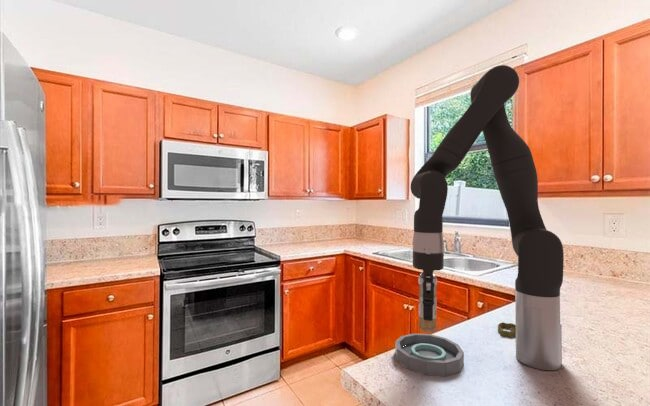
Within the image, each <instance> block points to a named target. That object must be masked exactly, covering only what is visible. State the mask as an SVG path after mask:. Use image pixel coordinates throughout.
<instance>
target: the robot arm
mask: <svg viewBox="0 0 650 406" xmlns="http://www.w3.org/2000/svg"><path fill="white" fill-rule="evenodd" d="M519 85H520V77H519V75H518V72H517V71H516V70H515V69H514V68H513V67H511V66H509V65H505V64H502V65H501V64H500V65H496V66H494V67H491V68H489V69H488V70H487V71H485V73H484V74H483V75H481V77H480V78H479V79H478V80H477V81H476V82H475V83H474V84H473V85H472V87H471V90H470V94H469V96H470V102H471V103H470V105H469V106H468V108H467V109H466V110H465V111H464V113H463V114H462V116H460V118H459V119H458V120H457V121H456V123H454V125H453V126H452V127H451V128H450V130H449V131H448V132H447V133H446V135H445V136H444V138H442V139H441V140H442V141H441V142H440V143H439V144H438V146H437V147H436V149H435V151H434V152H433V154H431V157H430V158H428V159H427V160H426V162H425V163H424V164H423V165H422V166H421V167H420V169H419V170H418V171H417V172H416V173H415V175H414V176H413V178H412V179H411V181H410V192H411V194H412V195H413V196H414V197H415V198H416V199H419V204H418V208H417V210H415V212H414V214H413V236H412V267H413V268H414V269H417V270H422V272H421V273H420V274H419V276H420V283H421V294H422V295H423V301H422V303H423V319H424V320H427V321H432V320H433V306H434V296H435V284H436V278H437V276H436V275H435V274H434V272H435V271H436V272H437V271H442V270H443V269H444V263H445V262H444V261H445V259H444V254H445V253H444V248H445V247H444V245H445V244H444V241H445V240H444V236H443V233H444V231H443V227H444V226H443V225H444V224H443V222H444V221H443V214H444V211H445V207H446V204H447V203H446V202H447V199H448V198H447V197H448V191H449V189H448V182H447V178H446V177H447V176H448V175H449V174H451V173H452V172H454V171H455V170H456V169H457V168H458V167H459V166H460V164H461V163H462V162H463V160H464V159H465V157H466V155H467V154H468V153H469V151H470V150H471V149H472V147H473V145H474V143H476V141H477V139H478V138H479V136H480V135H481V134H482V133H483V137H484V138H483V139H484V141H485V144H486V145H485V146H486V148H487V151H488V156H489V159H490V163H491V168H492V171H493V175H494V178H495V182H496V184H497V188H498V190H499V193H500V197H501V199H502V202H503V205H504V208H505V210H506V214H507V218H508V223H509V229H510V230H509V231H510V237H511V244H512V249H513V251H514V253H515V255H516V256H517V276H516V278H515V279H514V280H515V281H514V285H515V290H514V291H515V292H514V294H515V297H514V298H515V304H514V305H515V325H516V337H515V358H516V360H518V361H519V362H520V363H522V364H523V365H525V366H528V367H531V368H534V369H537V370H543V371H557V370H560V369H561V365H562V363H563V352H562V351H563V350H562V349H563V345H562V344H563V342H562V337H563V335H562V332H563V331H562V324H561V287H562V285H563V282H564V261H565V260H564V246H563V242H562V240H561V239H560V237H559V236H557V234H555V233H554V232H552V231H550V230H548V229H547V228H546V226H545V223H544V220H543V217H542V215H541V212H540V206H539V200H538V198H539V197H538V195H539V192H538V191H539V190H538V188H539V187H538V184H539V183H538V182H539V181H538V180H539V179H538V174H537V173H538V172H537V169H536V165H535V161H534V158H533V154H532V151H531V149H530V147H529V145H528V144H527V143H526V141H525V140H524V139H523V138H522V137H521V136H520V135H519V134H518V133H517V132H516V131H515V130H514V129H513V127H512V126H511V124H510V122H509V118H508V116H507V114H508V113H507V110H506V106H505V105H506V103H507V102H508V101H509V100H510V99H512V97H514V95H515V93H517V91H518V89H519V87H520V86H519ZM433 276H434V277H433ZM425 297H431V300H426V299H425Z"/></svg>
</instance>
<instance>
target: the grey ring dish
mask: <svg viewBox="0 0 650 406" xmlns="http://www.w3.org/2000/svg"><path fill="white" fill-rule="evenodd" d="M394 343H395V348H394V349H395V351H394V353H395V359H396V361H397V362H398V363H399V364H400V365H402V366H404V367H405V368H406V369H407V370H410V371H413V372H415V373H420V374H422V375H425V376H437V377H447V376H450V375H454V374H457V373H460V372H461V370H462V369H463V367H464V365H465V359H464V358H465V356H464V354H465V352H464V350H463V349H462V348H461V346H460V345H459V344H458V343H457V342H454V341H453V340H450V339H448V338H446V337H443V336H439V335H435V334H430V333H409V334H405V335H401V336H400V337H399V338H398V339H396V340H395V341H394ZM405 345H406V346H405ZM403 346H404V347H403Z"/></svg>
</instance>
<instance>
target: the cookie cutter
mask: <svg viewBox="0 0 650 406" xmlns="http://www.w3.org/2000/svg"><path fill="white" fill-rule="evenodd" d="M504 329H506V330H504ZM508 330H509V331H508ZM497 331H498V333H499V334H500V335H499V336H500V337H507V338H514V337H515V338H516V323H511V322H509V323H508V322H504V321H502V322H499V323H498V324H497Z"/></svg>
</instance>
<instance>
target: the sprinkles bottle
mask: <svg viewBox="0 0 650 406" xmlns="http://www.w3.org/2000/svg"><path fill="white" fill-rule="evenodd" d="M433 277H434V276H433ZM417 280H418V282H417V283H418V326H417V327H418V329H419V330H421V331H423V332H427V333H434V332H436V331H437V315H438V314H437V313H438V312H437V311H438V310H437V307H438V306H437V299H438V297H437V286H438V278H437V277H436V284H435V296H434V306H433V320H432V321H427V320H424V319H423V303H422V301H423V295H422V294H421V283H420V275H419V276H418V279H417ZM425 299H426V300H431V297H425Z"/></svg>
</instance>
